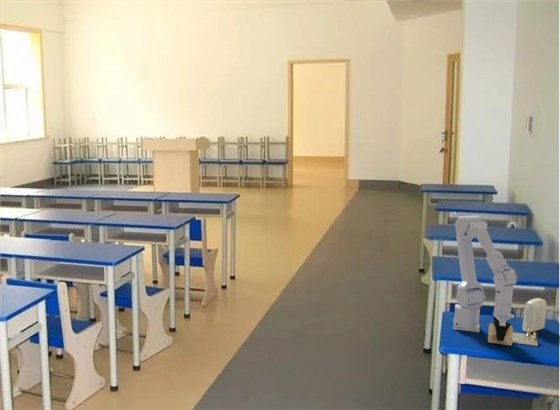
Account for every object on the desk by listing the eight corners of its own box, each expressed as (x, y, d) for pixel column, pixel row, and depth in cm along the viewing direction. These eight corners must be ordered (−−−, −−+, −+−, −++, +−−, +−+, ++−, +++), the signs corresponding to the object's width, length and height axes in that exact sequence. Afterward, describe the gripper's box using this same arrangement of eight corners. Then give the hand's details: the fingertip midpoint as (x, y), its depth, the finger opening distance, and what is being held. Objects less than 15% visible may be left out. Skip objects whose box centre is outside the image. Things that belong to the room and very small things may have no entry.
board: (488, 342, 214) (489, 326, 213) (487, 338, 217) (489, 322, 216) (511, 345, 211) (513, 329, 210) (511, 341, 215) (512, 325, 214)
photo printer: (536, 325, 234) (539, 295, 232) (545, 328, 230) (549, 298, 228) (520, 330, 228) (523, 299, 226) (530, 333, 224) (533, 302, 222)
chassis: (502, 341, 216) (502, 333, 216) (501, 332, 225) (502, 324, 224) (537, 346, 213) (538, 337, 212) (535, 337, 221) (536, 329, 221)
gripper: (516, 310, 204) (512, 347, 206) (513, 297, 217) (510, 332, 220) (494, 307, 206) (491, 344, 208) (493, 295, 219) (490, 329, 222)
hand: (499, 338), depth 214 cm, fingers closed on board, 4 cm apart
